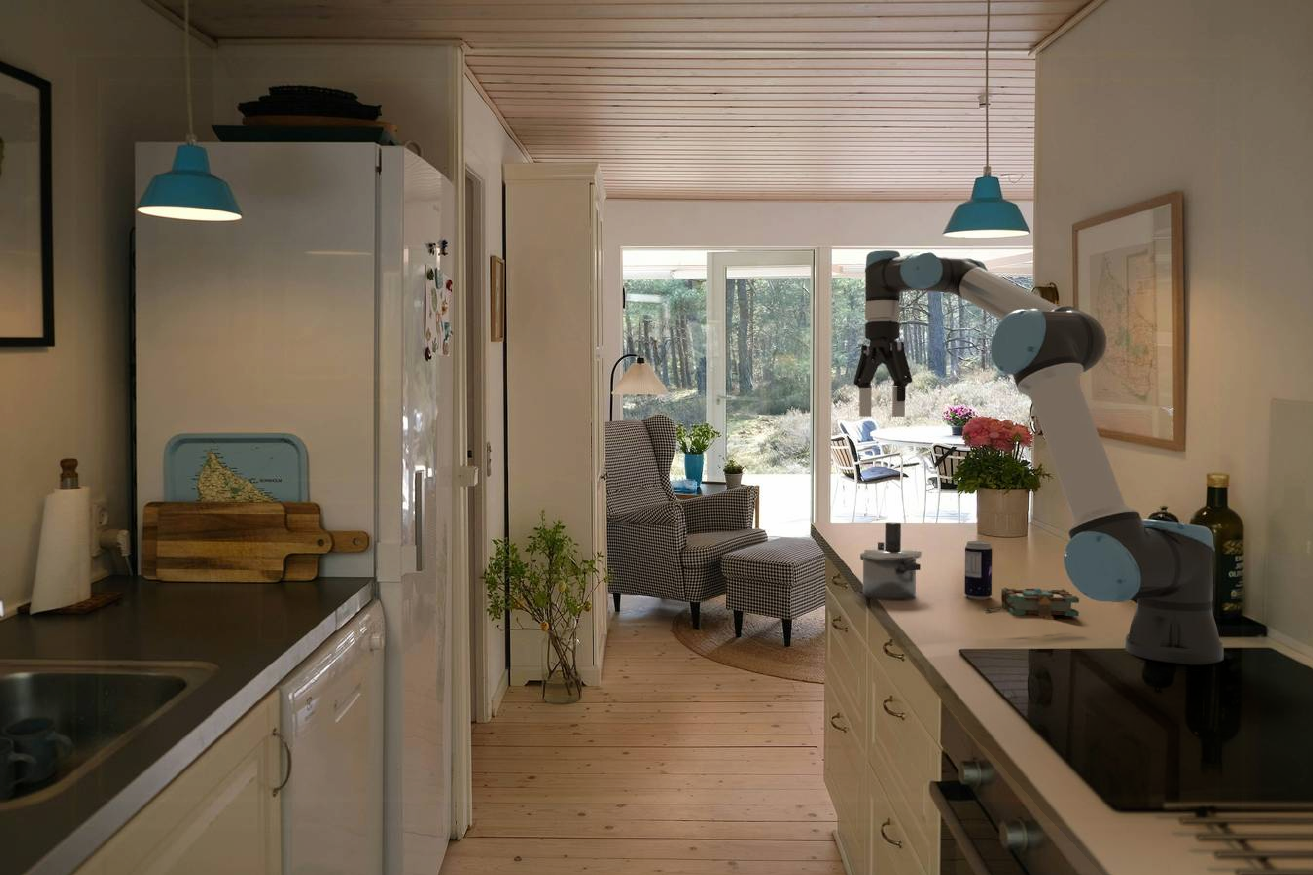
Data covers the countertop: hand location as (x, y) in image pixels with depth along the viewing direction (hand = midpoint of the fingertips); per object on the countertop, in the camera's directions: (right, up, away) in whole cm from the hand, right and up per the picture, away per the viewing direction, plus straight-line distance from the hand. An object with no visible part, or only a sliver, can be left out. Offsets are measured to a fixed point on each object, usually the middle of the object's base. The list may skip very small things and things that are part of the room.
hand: (881, 416), depth 227 cm
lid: (+1, -30, -8) cm, 31 cm away
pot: (0, -39, -6) cm, 39 cm away
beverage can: (+19, -39, -8) cm, 44 cm away
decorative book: (+24, -40, -23) cm, 52 cm away
